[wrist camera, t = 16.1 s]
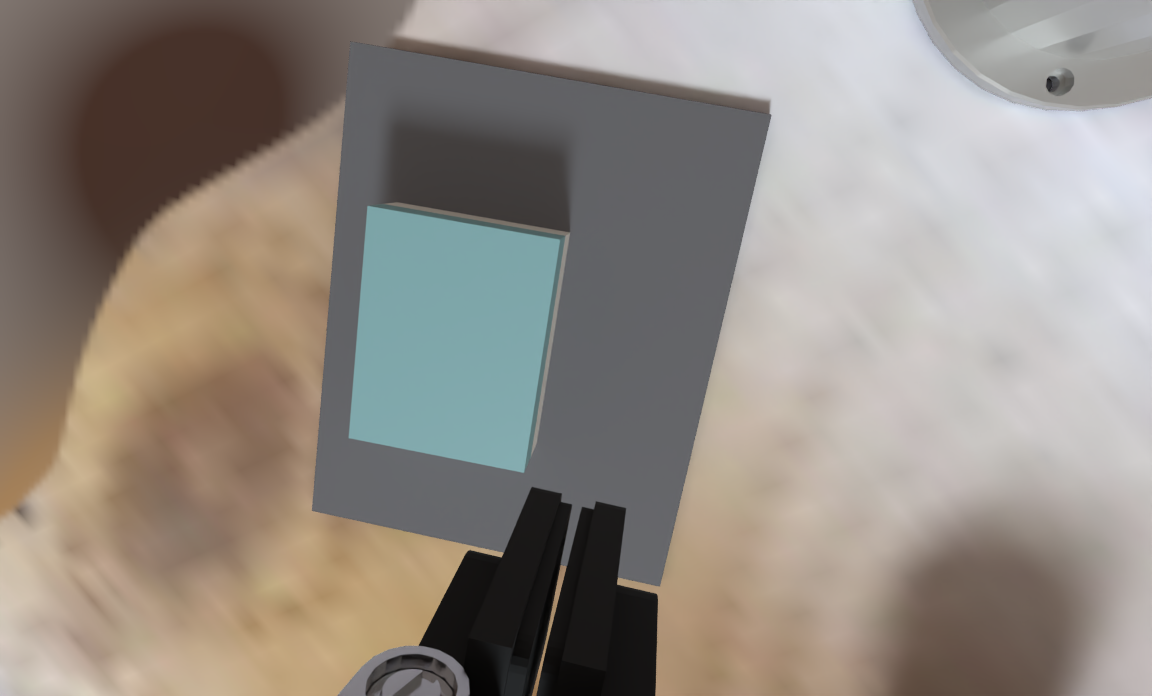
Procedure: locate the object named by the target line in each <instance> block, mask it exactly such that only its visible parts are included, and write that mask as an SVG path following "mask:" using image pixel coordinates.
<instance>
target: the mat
mask: <svg viewBox="0 0 1152 696" xmlns="http://www.w3.org/2000/svg"><path fill="white" fill-rule="evenodd" d="M770 119H771V115H770V114H765V113H759V112H753V111H747V110H742V109H736V108H730V107H724V106H719V105H713V104H707V103H701V102H696V101H690V100H684V99H679V98H673V97H667V96H661V95H656V94H650V93H644V92H638V91H633V90H627V89H621V88H615V87H610V86H604V85H598V84H592V83H587V82H581V81H575V80H569V79H564V78H558V77H552V76H546V75H541V74H535V73H529V72H523V71H518V70H512V69H506V68H501V67H495V66H489V65H483V64H478V63H472V62H466V61H460V60H455V59H449V58H443V57H437V56H432V55H426V54H420V53H414V52H409V51H403V50H397V49H391V48H386V47H380V46H374V45H368V44H362V43H357V42H350V54H349V65H348V78H347V90H346V102H345V114H344V126H343V139H342V151H341V163H340V175H339V188H338V200H337V212H336V224H335V237H334V249H333V261H332V273H331V285H330V298H329V310H328V322H327V334H326V347H325V359H324V371H323V383H322V395H321V408H320V420H319V432H318V444H317V457H316V469H315V481H314V493H313V505H312V511H315V512H320V513H325V514H329V515H334V516H338V517H343V518H348V519H352V520H357V521H361V522H366V523H370V524H375V525H380V526H384V527H389V528H393V529H398V530H403V531H407V532H412V533H416V534H421V535H426V536H430V537H435V538H439V539H444V540H449V541H453V542H458V543H462V544H467V545H471V546H476V547H481V548H485V549H490V550H494V551H499V552H504V551H505V549H506V547H507V544H508V542H509V539H510V537H511V535H512V532H513V530H514V527H515V525H516V523H517V520H518V518H519V515H520V513H521V511H522V508H523V506H524V504H525V501H526V499H527V496H528V494H529V492H530V489H531V487H535V488H540V489H544V490H549V491H553V492H557V493H562V499H561V502H564V503H568V504H572V509H571V515H570V520H569V525H568V530H567V535H566V540H565V545H564V550H563V555H562V560H561V565H563V566H567V564H568V560H569V556H570V552H571V548H572V544H573V540H574V536H575V532H576V528H577V524H578V520H579V516H580V512H581V508H582V507H586V508H590V509H594V507H595V503H596V501H597V502H602V503H606V504H611V505H615V506H620V507H624V508H626V514H625V523H624V531H623V539H622V547H621V555H620V563H619V571H618V578H623V579H628V580H632V581H637V582H641V583H646V584H651V585H655V586H660V584H661V579H662V575H663V571H664V567H665V563H666V558H667V554H668V550H669V546H670V541H671V537H672V533H673V529H674V524H675V520H676V516H677V512H678V508H679V503H680V499H681V495H682V491H683V486H684V482H685V478H686V474H687V470H688V465H689V461H690V457H691V453H692V448H693V444H694V440H695V436H696V431H697V427H698V423H699V419H700V415H701V410H702V406H703V402H704V398H705V393H706V389H707V385H708V381H709V377H710V372H711V368H712V364H713V360H714V355H715V351H716V347H717V343H718V338H719V334H720V330H721V326H722V322H723V317H724V313H725V309H726V305H727V300H728V296H729V292H730V288H731V284H732V279H733V275H734V271H735V267H736V262H737V258H738V254H739V250H740V245H741V241H742V237H743V233H744V229H745V224H746V220H747V216H748V212H749V207H750V203H751V199H752V195H753V191H754V186H755V182H756V178H757V174H758V169H759V165H760V161H761V157H762V152H763V148H764V144H765V140H766V136H767V131H768V127H769V123H770ZM395 202H399V203H405V204H410V205H416V206H422V207H428V208H433V209H439V210H445V211H450V212H456V213H462V214H468V215H473V216H479V217H485V218H490V219H496V220H502V221H508V222H513V223H519V224H525V225H530V226H536V227H542V228H548V229H553V230H559V231H565V232H570V237H569V243H568V249H567V256H566V262H565V268H564V275H563V281H562V287H561V294H560V300H559V306H558V312H557V319H556V325H555V331H554V338H553V344H552V350H551V357H550V363H549V369H548V376H547V382H546V388H545V395H544V401H543V407H542V413H541V420H540V426H539V432H538V439H537V444H536V446H535V449H534V451H533V453H532V456H531V458H530V460H529V462H528V465H527V467H526V469H525V472H524V473H522V472H517V471H512V470H507V469H502V468H497V467H492V466H487V465H482V464H477V463H472V462H467V461H462V460H457V459H452V458H447V457H442V456H437V455H431V454H426V453H421V452H416V451H411V450H406V449H401V448H396V447H391V446H386V445H381V444H376V443H371V442H366V441H361V440H356V439H351V438H349V428H350V415H351V403H352V391H353V378H354V366H355V354H356V341H357V329H358V317H359V305H360V292H361V280H362V268H363V255H364V243H365V231H366V218H367V206H370V205H379V204H387V203H395Z"/></svg>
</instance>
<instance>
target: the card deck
mask: <svg viewBox="0 0 1152 696" xmlns="http://www.w3.org/2000/svg"><path fill="white" fill-rule="evenodd" d="M569 237H570V232H565V231H559V230H553V229H548V228H542V227H536V226H530V225H525V224H519V223H513V222H508V221H502V220H496V219H490V218H485V217H479V216H473V215H468V214H462V213H456V212H450V211H445V210H439V209H433V208H428V207H422V206H416V205H410V204H405V203H399V202H395V203H387V204H379V205H370V206H367V218H366V231H365V243H364V255H363V268H362V280H361V292H360V305H359V317H358V329H357V341H356V354H355V366H354V378H353V391H352V403H351V415H350V428H349V438H351V439H356V440H361V441H366V442H371V443H376V444H381V445H386V446H391V447H396V448H401V449H406V450H411V451H416V452H421V453H426V454H431V455H437V456H442V457H447V458H452V459H457V460H462V461H467V462H472V463H477V464H482V465H487V466H492V467H497V468H502V469H507V470H512V471H517V472H522V473H524V472H525V469H526V467H527V465H528V462H529V460H530V458H531V456H532V453H533V451H534V449H535V446H536V444H537V439H538V432H539V426H540V420H541V413H542V407H543V401H544V395H545V388H546V382H547V376H548V369H549V363H550V357H551V350H552V344H553V338H554V331H555V325H556V319H557V312H558V306H559V300H560V294H561V287H562V281H563V275H564V268H565V262H566V256H567V249H568V243H569Z"/></svg>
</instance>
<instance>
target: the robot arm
mask: <svg viewBox="0 0 1152 696" xmlns="http://www.w3.org/2000/svg"><path fill="white" fill-rule="evenodd" d="M913 3H914V7H915V10H916V13H917V15H918V17H919V19H920V20H921V22H922V24H923V26H924V28H925V30H926V32H927V33H928V35H929V37H930V39H931V41H932V43H933V44H934V45H935V46H936V47H937V49H938V50H939V51H940V52H941V53H942V54H943V56H944V57H945V58H946V59H947V60H948V61H949V63H950V64H951V65H952V66H953V67H954V68H955V69H956V70H957V71H958V72H960V73H961V74H962V75H964V76H965V77H966V78H968V79H969V80H970V81H972V82H973V83H974V84H976V85H977V86H978V87H980V88H981V89H983V90H985V91H987V92H990V93H992V94H994V95H996V96H998V97H1001V98H1003V99H1005V100H1007V101H1009V102H1012V103H1015V104H1020V105H1024V106H1029V107H1033V108H1038V109H1042V110H1051V111H1088V110H1094V109H1103V108H1112V107H1118V106H1122V105H1126V104H1130V103H1134V102H1138V101H1142V100H1146V99H1150V98H1152V0H913ZM1047 78H1049V79H1051V81H1052V88H1051V90H1050V91H1049V92H1048V90H1047V88H1046V81H1047ZM561 499H562V493H557V492H553V491H549V490H544V489H540V488H535V487H531V489H530V492H529V494H528V496H527V499H526V501H525V504H524V506H523V508H522V511H521V513H520V515H519V518H518V520H517V523H516V525H515V527H514V530H513V532H512V535H511V537H510V539H509V542H508V544H507V547H506V549H505V551H504V554H503V556H502V558H501V557H497V556H492V555H488V554H484V553H480V552H475V551H471V550H469V551H468V552H467V553H466V555H465V556H464V558H463V560H462V562H461V564H460V566H459V568H458V570H457V572H456V574H455V576H454V578H453V580H452V582H451V584H450V586H449V587H448V589H447V591H446V593H445V595H444V597H443V599H442V601H441V603H440V605H439V607H438V609H437V611H436V613H435V615H434V617H433V619H432V621H431V623H430V624H429V626H428V628H427V630H426V632H425V634H424V636H423V638H422V640H421V642H420V644H419V646H403V647H398V648H393V649H389V650H387V651H384V652H382V653H380V654H378V655H376V656H374V657H373V658H372V659H370V660H369V661H368V662H367V663H366V664H365V665H363V666H362V667H361V668H360V670H359V671H358V672H357V673H356V674H355V675H354V677H353V678H352V679H351V680H350V681H349V683H348V684H347V685H346V686H345V687H344V688H343V690H342V691H341V692H340V693H339V694H338V695H337V696H532V693H533V689H534V685H535V681H536V677H537V673H538V669H539V666H540V662H541V658H542V654H543V649H544V645H545V641H546V636H547V631H548V626H549V621H550V616H551V611H552V606H553V601H554V596H555V591H556V586H557V580H558V575H559V570H560V565H561V560H562V555H563V550H564V545H565V540H566V535H567V530H568V525H569V520H570V515H571V509H572V504H568V503H564V502H561ZM625 514H626V508H624V507H620V506H615V505H611V504H606V503H602V502H597V501H596V503H595V507H594V509H590V508H586V507H582V508H581V512H580V516H579V520H578V524H577V528H576V532H575V536H574V540H573V544H572V548H571V552H570V556H569V560H568V564H567V568H566V572H565V576H564V580H563V584H562V588H561V592H560V596H559V600H558V604H557V608H556V612H555V616H554V620H553V624H552V628H551V632H550V636H549V640H548V644H547V648H546V653H545V657H544V662H543V666H542V671H541V676H540V681H539V686H538V691H537V696H655V689H656V651H657V613H658V596H657V594H655V593H650V592H646V591H642V590H638V589H633V588H629V587H625V586H620V585H617V579H618V571H619V563H620V555H621V547H622V539H623V531H624V523H625Z"/></svg>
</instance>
